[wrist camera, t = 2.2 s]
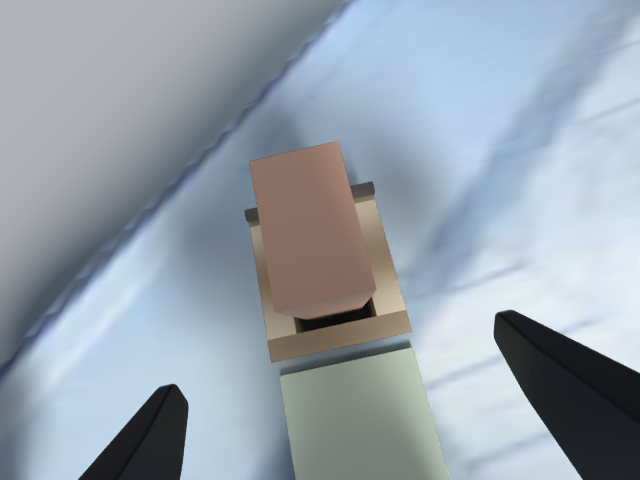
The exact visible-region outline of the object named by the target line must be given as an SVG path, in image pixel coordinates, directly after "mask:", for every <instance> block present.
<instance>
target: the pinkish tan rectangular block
mask: <svg viewBox="0 0 640 480" xmlns="http://www.w3.org/2000/svg"><path fill="white" fill-rule="evenodd" d="M250 167H251V173H252V179H253V185H254V191H255V197H256V203H257V209H258V215H259V222H260V228H261V234H262V240H263V246H264V252H265V258H266V264H267V270H268V276H269V282H270V288H271V294H272V300H273V306H274V312H275V313H279V314H283V315H288V316H292V317H297V318H301V319H306V320H310V321H315V320H319V319H324V318H328V317H333V316H337V315H342V314H346V313H351V312H356V311H360V310H361V308H362V307H363V306H364V305H365V304H366V302H367V301H368V300H369V299H370V298H371V296H372V295H373V294H374V293H375V292H376V290H377V288H376V284H375V280H374V277H373V273H372V269H371V265H370V261H369V257H368V254H367V250H366V246H365V242H364V238H363V234H362V231H361V227H360V223H359V219H358V215H357V211H356V208H355V204H354V200H353V196H352V192H351V188H350V185H349V181H348V177H347V173H346V169H345V165H344V162H343V158H342V154H341V150H340V146H339V142H338V141H335V142H331V143H326V144H322V145H318V146H313V147H309V148H304V149H300V150H296V151H291V152H287V153H283V154H278V155H274V156H270V157H265V158H261V159H256V160H252V161H250Z"/></svg>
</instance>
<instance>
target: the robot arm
mask: <svg viewBox="0 0 640 480" xmlns="http://www.w3.org/2000/svg"><path fill="white" fill-rule="evenodd" d="M494 339H495V342H496V344H497V345H498V347H499V349H500V351H501V353H502V354H503V356H504V358H505V360H506V362H507V364H508V365H509V367H510V369H511V371H512V373H513V375H514V376H515V378H516V380H517V382H518V384H519V385H520V387H521V389H522V391H523V392H524V394H525V396H526V397H527V399H528V400H529V402H530V403H531V405H532V406H533V408H534V409H535V411H536V412H537V414H538V415H539V417H540V418H541V420H542V421H543V422H544V424H545V425H546V427H547V428H548V430H549V431H550V433H551V434H552V436H553V437H554V438H555V440H556V441H557V443H558V444H559V446H560V447H561V449H562V450H563V452H564V453H565V455H566V456H567V457H568V459H569V460H570V462H571V463H572V465H573V466H574V468H575V469H576V471H577V472H578V473H579V475H580V476H581V478H582V479H583V480H640V373H639V372H637V371H635V370H633V369H631V368H629V367H627V366H625V365H623V364H621V363H619V362H617V361H615V360H613V359H611V358H609V357H607V356H605V355H603V354H601V353H599V352H597V351H595V350H592V349H590V348H588V347H586V346H584V345H582V344H580V343H578V342H576V341H574V340H572V339H570V338H568V337H566V336H564V335H562V334H560V333H558V332H556V331H554V330H552V329H550V328H548V327H546V326H544V325H542V324H540V323H538V322H536V321H534V320H532V319H530V318H528V317H526V316H524V315H522V314H520V313H518V312H516V311H514V310H506V311H502V312H498V313H497V314H496V315H495V323H494ZM188 409H189V408H188V402H187V400H186V398H185V397H184V395H183V394H182V392H181V391H180V389H179V388H178V386H177V385H175V384H169V385H164V386H161V387H159V388H158V389H157V390H156V391H155V392H154V393H153V394H152V395H151V397H150V398H149V399H148V400H147V401H146V402H145V403H144V405H143V406H142V407H141V408H140V409H139V410H138V412H137V413H136V414H135V415H134V416H133V417H132V418H131V420H130V421H129V422H128V423H127V424H126V425H125V426H124V428H123V429H122V430H121V431H120V432H119V433H118V434H117V436H116V437H115V438H114V439H113V440H112V441H111V442H110V444H109V445H108V446H107V447H106V448H105V449H104V450H103V452H102V453H101V454H100V455H99V456H98V457H97V458H96V460H95V461H94V462H93V463H92V464H91V465H90V467H89V468H88V469H87V470H86V471H85V472H84V473H83V475H82V476H81V477H80V478H79V479H78V480H180V476H181V470H182V464H183V456H184V446H185V437H186V428H187V419H188Z"/></svg>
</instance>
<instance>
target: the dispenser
mask: <svg viewBox="0 0 640 480" xmlns="http://www.w3.org/2000/svg"><path fill="white" fill-rule="evenodd" d="M350 188H351V192H352V196H353V200H354V204H355V208H356V211H357V215H358V219H359V223H360V227H361V231H362V234H363V238H364V242H365V246H366V250H367V254H368V257H369V261H370V265H371V269H372V273H373V277H374V280H375V284H376V288H377V290H376V292H375V293H374V294H373V295H372V296H371V298H370V299H369V300H368V301H367V302H368V306H369V310H370V314H371V318H366V319H362V320H357V321H353V322H348V323H344V324H339V325H334V326H330V327H325V328H321V329H316V330H312V331H307V332H304V326H303V321H302V319H301V318H297V317H292V316H288V315H283V314H279V313H275V312H274V306H273V300H272V294H271V288H270V282H269V276H268V270H267V264H266V258H265V252H264V246H263V240H262V234H261V228H260V222H259V215H258V209H257V208H252V209H248V210H245V217H246V220H247V222H249V224H250V230H251V237H252V243H253V249H254V256H255V262H256V269H257V275H258V282H259V288H260V294H261V301H262V307H263V314H264V320H265V327H266V333H267V339H268V346H269V352H270V359H271V363H272V362H277V361H282V360H286V359H291V358H295V357H300V356H304V355H309V354H314V353H318V352H323V351H327V350H332V349H336V348H341V347H346V346H350V345H355V344H359V343H364V342H368V341H373V340H378V339H382V338H387V337H391V336H396V335H400V334H405V333H410V332H412V329H411V325H410V322H409V318H408V315H407V311H406V308H405V304H404V300H403V297H402V293H401V290H400V286H399V283H398V279H397V276H396V272H395V269H394V265H393V262H392V258H391V254H390V251H389V247H388V244H387V240H386V237H385V233H384V230H383V226H382V223H381V219H380V215H379V212H378V208H377V205H376V201H375V198H374V194H375V190H374V185H373V182H367V183H362V184H358V185H354V186H350Z"/></svg>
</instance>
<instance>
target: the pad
mask: <svg viewBox="0 0 640 480" xmlns="http://www.w3.org/2000/svg"><path fill="white" fill-rule="evenodd" d="M279 379H280V386H281V392H282V398H283V404H284V410H285V417H286V423H287V429H288V435H289V442H290V448H291V454H292V460H293V467H294V473H295V479H296V480H450V478H449V475H448V471H447V467H446V464H445V460H444V457H443V453H442V449H441V446H440V442H439V439H438V435H437V432H436V428H435V424H434V421H433V417H432V414H431V410H430V406H429V403H428V399H427V396H426V392H425V389H424V385H423V381H422V378H421V374H420V371H419V367H418V363H417V360H416V356H415V353H414V349H413V347H410V348H405V349H401V350H396V351H391V352H387V353H382V354H378V355H373V356H368V357H364V358H359V359H355V360H350V361H345V362H341V363H336V364H332V365H327V366H323V367H318V368H313V369H309V370H304V371H300V372H295V373H290V374H286V375H281V376H279Z"/></svg>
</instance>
